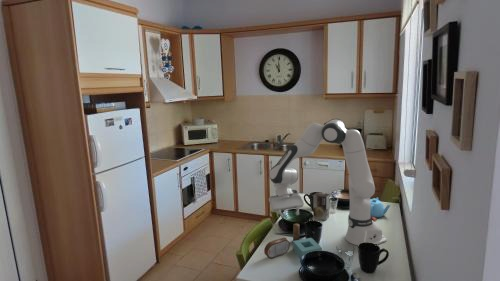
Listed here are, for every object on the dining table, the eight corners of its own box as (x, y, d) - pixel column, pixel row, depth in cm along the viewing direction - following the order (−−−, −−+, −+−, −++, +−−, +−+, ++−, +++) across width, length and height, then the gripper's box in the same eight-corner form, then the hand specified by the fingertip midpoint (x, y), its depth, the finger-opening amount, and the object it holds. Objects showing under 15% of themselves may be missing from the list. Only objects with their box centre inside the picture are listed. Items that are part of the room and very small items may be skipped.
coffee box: (329, 217, 208) (330, 193, 205) (326, 220, 203) (326, 197, 200) (316, 214, 213) (316, 191, 210) (312, 217, 208) (313, 194, 205)
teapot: (357, 210, 218) (357, 195, 216) (377, 208, 221) (377, 193, 219) (369, 219, 203) (370, 204, 201) (390, 217, 206) (391, 202, 204)
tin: (287, 249, 170) (287, 235, 168) (290, 252, 167) (290, 237, 166) (263, 258, 162) (263, 243, 161) (267, 260, 160) (267, 245, 158)
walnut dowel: (297, 239, 180) (297, 223, 178) (300, 242, 177) (300, 225, 175) (292, 240, 179) (292, 224, 177) (294, 243, 176) (294, 226, 174)
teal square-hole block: (311, 246, 173) (311, 237, 172) (321, 256, 162) (321, 247, 161) (293, 249, 170) (293, 241, 169) (302, 260, 159) (302, 251, 158)
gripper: (269, 194, 185) (275, 216, 178) (300, 190, 191) (307, 211, 184) (266, 198, 190) (272, 220, 183) (297, 194, 196) (304, 215, 189)
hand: (290, 215), depth 183 cm, fingers open, 8 cm apart
